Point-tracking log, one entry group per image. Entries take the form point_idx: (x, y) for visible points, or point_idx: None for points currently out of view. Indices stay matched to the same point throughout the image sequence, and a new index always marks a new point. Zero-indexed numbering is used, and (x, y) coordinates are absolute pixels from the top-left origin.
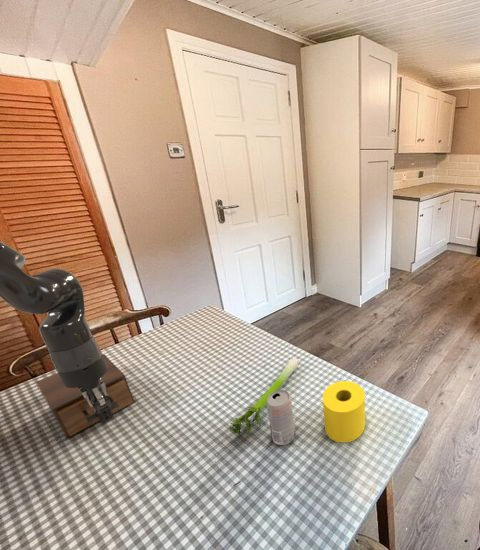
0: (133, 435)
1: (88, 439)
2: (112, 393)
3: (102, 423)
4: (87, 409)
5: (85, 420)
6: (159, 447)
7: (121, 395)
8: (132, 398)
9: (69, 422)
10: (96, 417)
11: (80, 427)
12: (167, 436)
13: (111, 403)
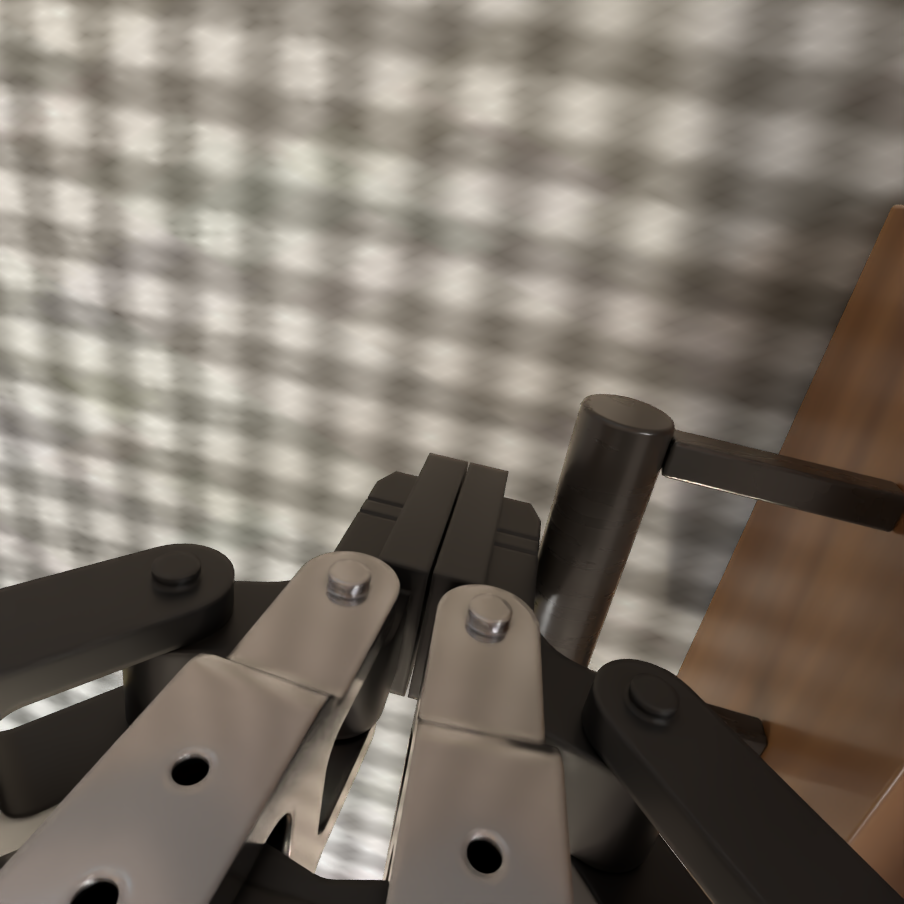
0: (312, 466)
1: (659, 285)
2: None
3: (429, 454)
4: (873, 543)
5: (846, 414)
6: (42, 460)
7: None
8: None
9: None
10: (556, 489)
11: (856, 331)
12: (96, 538)
13: None
